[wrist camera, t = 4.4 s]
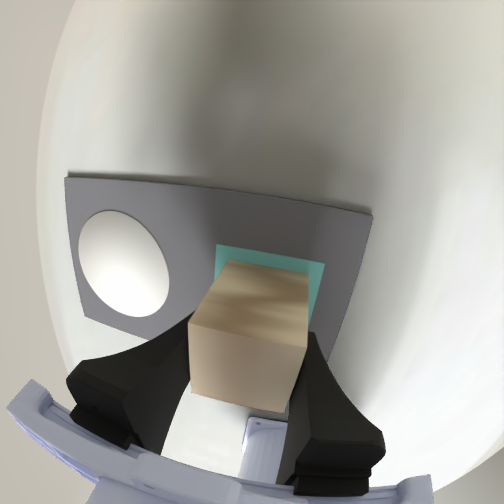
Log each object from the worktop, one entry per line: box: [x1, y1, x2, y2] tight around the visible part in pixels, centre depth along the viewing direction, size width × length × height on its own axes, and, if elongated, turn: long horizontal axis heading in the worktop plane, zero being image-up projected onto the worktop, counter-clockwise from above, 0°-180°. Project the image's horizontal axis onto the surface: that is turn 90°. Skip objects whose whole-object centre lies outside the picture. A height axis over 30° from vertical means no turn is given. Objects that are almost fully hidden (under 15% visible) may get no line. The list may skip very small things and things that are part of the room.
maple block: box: [188, 259, 309, 413], centre depth 13 cm, size 4×4×6 cm
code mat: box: [64, 177, 373, 362], centre depth 17 cm, size 20×12×1 cm, turn 84°
